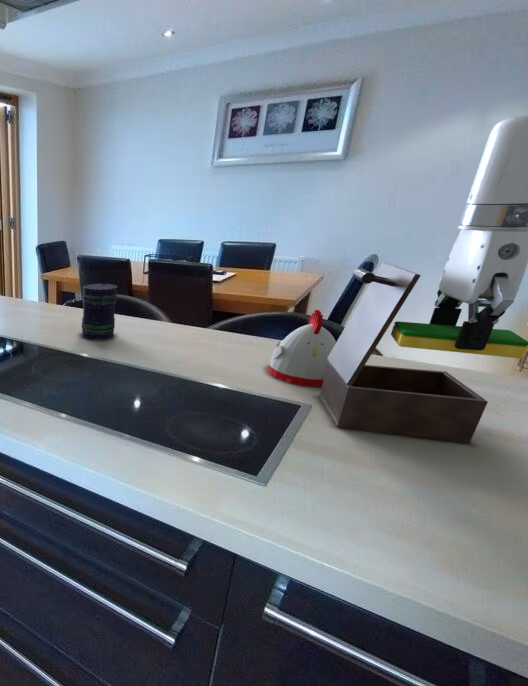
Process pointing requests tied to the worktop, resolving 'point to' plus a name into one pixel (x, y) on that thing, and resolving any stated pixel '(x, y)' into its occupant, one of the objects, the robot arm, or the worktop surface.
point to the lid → (371, 318)
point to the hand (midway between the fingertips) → (453, 339)
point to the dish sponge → (447, 335)
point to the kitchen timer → (303, 354)
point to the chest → (403, 403)
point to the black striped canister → (98, 311)
